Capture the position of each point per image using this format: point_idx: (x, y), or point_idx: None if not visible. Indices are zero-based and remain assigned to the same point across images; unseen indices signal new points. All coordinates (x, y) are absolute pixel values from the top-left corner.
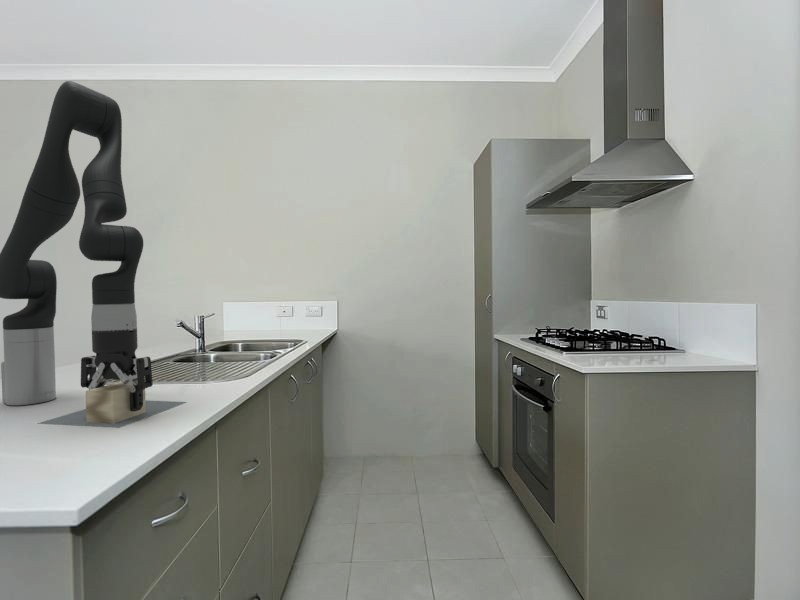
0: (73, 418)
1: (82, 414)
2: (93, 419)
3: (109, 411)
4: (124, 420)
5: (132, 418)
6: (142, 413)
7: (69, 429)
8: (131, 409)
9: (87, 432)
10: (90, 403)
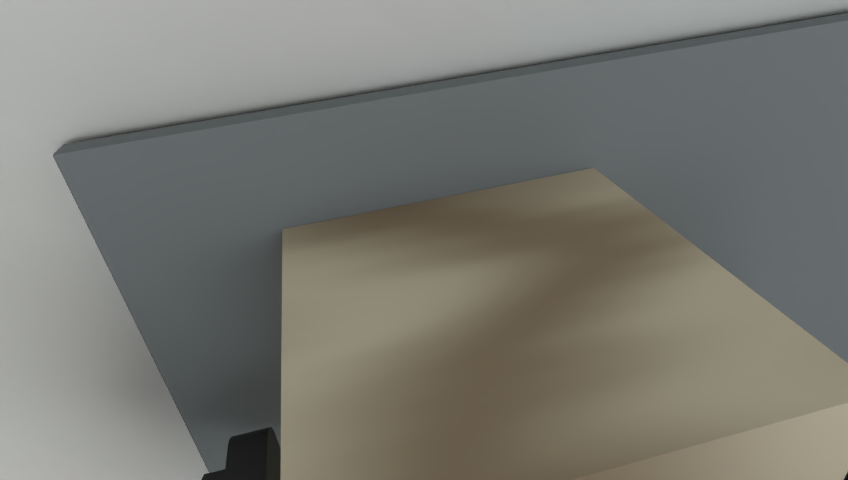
0: (795, 203)
1: (796, 294)
2: (527, 194)
3: (340, 290)
4: None
5: None
6: None
7: (654, 29)
8: (245, 441)
9: (385, 9)
10: (655, 281)
